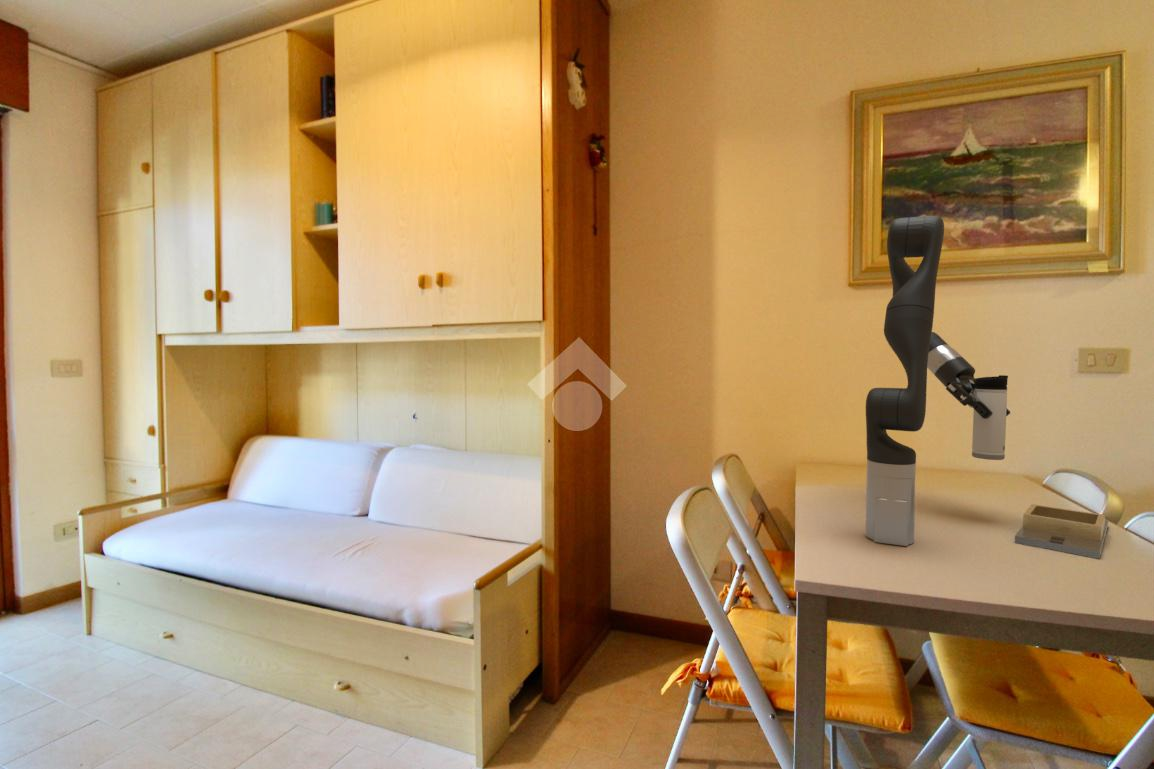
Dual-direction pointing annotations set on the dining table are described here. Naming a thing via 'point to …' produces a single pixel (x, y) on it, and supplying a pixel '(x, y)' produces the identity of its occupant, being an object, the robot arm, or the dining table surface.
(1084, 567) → the dining table surface
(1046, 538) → the open tray on base
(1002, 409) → the travel mug
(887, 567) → the dining table surface
